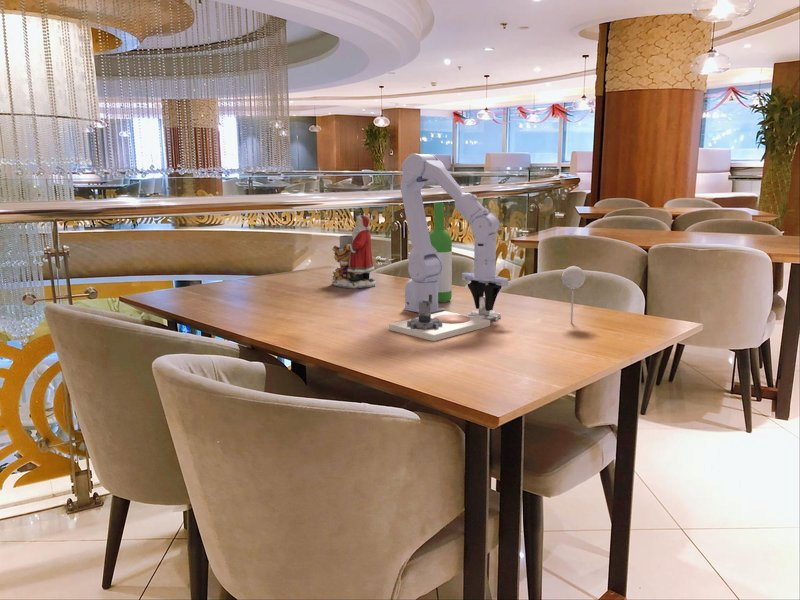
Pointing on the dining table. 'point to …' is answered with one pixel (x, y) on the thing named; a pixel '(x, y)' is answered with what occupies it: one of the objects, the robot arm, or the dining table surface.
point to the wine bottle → (442, 253)
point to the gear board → (443, 326)
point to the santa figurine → (354, 257)
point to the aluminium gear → (484, 311)
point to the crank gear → (425, 317)
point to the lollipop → (573, 280)
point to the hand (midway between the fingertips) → (484, 309)
